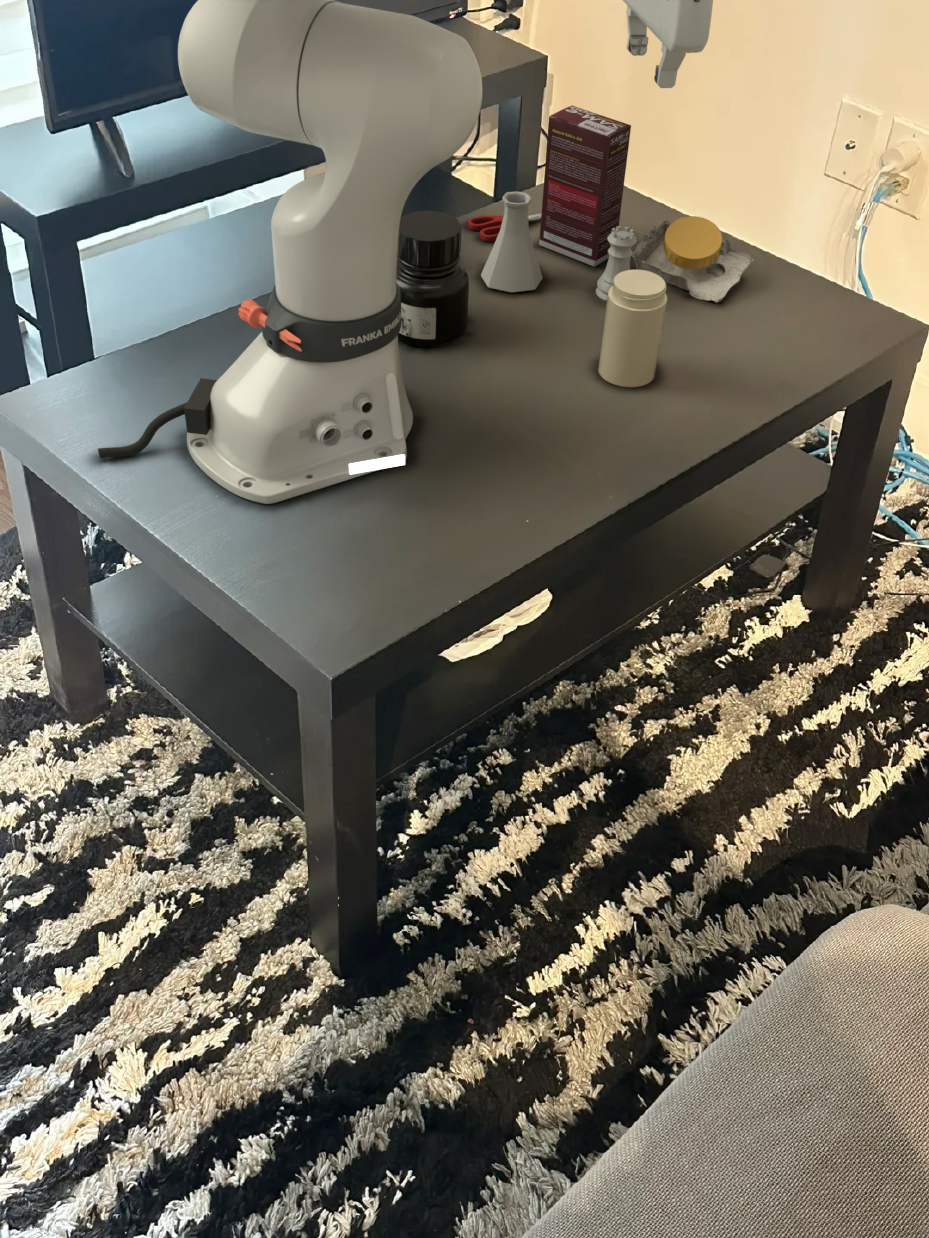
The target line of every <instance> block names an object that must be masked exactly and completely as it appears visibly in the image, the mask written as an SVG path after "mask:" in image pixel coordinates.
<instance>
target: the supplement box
mask: <svg viewBox="0 0 929 1238" xmlns="http://www.w3.org/2000/svg"><path fill="white" fill-rule="evenodd" d="M631 130H632V125H631V124H628V123H625V122H622V121H620V120H616V119H613V118H610V117H608V116H604V115H601V114H598V113H595V112H592V111H590V110H586V109H584V108H581V107H578V106H575V105H570V106H569V105H568V106H567V107H565V108H562V109H560V110H557V111H556V112H554V113H553V114H549V115H548V125H547V136H546V147H545V148H546V149H545V160H544V161H545V162H544V163H545V164H544V173H543V175H544V176H543V190H542V200H541V201H542V203H541V213H542V214H541V218H540V228H539V239H538V245H539V246H540V247H543V248H546V249H548V250H551V251H553V252H556V253H558V254H561V255H563V256H565V257H568V258H571V259H573V260H576V261H578V262H581V263H584V264H586V265H589V266H591V267H593V268H595V267H597V266H599V265H600V264H602V263H604V262H605V261H608V259H609V253H608V249H609V248H610V246H611V245H610V243H609V241H608V239H607V237H608V236H609V235H610V234H611V232H612V229H613V228H615V231H616V227H617V226H620V218H621V211H622V203H623V202H622V201H623V194H624V187H625V181H626V180H625V179H626V170H627V163H628V155H629V148H630V147H629V146H630V138H631V137H630V136H631Z"/></svg>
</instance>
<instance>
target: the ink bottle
mask: <svg viewBox="0 0 929 1238" xmlns="http://www.w3.org/2000/svg"><path fill="white" fill-rule="evenodd" d="M461 249H462V224H461V223H460V221H459V219H458V218H456V217H454V216H452V215H451V214H448V213H444V212H441V211H435V210H434V211H433V210H420V211H413V212H410V213H407V214H404V215H403V216H401V219H400V225H399V235H398V249H397V274H396V282H397V284H398V285H399V288H400V292H401V329H400V332H399V334H398V341H400V342H403V343H406V344H408V345H410V346H415V347H416V346H417V347H422V348H423V347H425V348H427V347H428V348H429V347H430V348H431V347H439V346H443V345H447V344H450V343H452V342H455V341H457V340H459V339H460V338H461V337H463V336H464V335H465V334H466V332H467V329H468V324H469V323H468V320H469V297H470V275H469V271H468V270H467V268H466V266H465V265H464V264H462V262H460V260H461Z"/></svg>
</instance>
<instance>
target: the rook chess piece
mask: <svg viewBox="0 0 929 1238" xmlns="http://www.w3.org/2000/svg"><path fill="white" fill-rule="evenodd" d="M607 239H608V241H609V243H610V245H611V246H610V248H609V249H608V253H609V258H608V259H607V263H606V267H605V269H604V271H603V273H602V274H601V276H600V277H599V279H598V280H597V281H596V282H597V283H596V286H597V287H596V288H595V294H596V295H597V298H598V299H599V300H600V301H602V302H603V303H606V304H607V297H608V291H609V289H610V288H611V287H612V286H613V282H614V278H615V276H616V275H617V274H618V273H620V272H623V271H626V270H631V269H630V268H631V257H632V254H633V252H634V250H632V247H634V245H636V243H637V238H636V236H635V230H634V229H633V228H631V229H630V227H629V226H626V225H624V228H623V229H622V226H621V225H619V226H617V227H616V231H615V228H613V229H612V232H611V234H610V235H609V236H608V237H607Z"/></svg>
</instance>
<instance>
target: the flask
mask: <svg viewBox="0 0 929 1238" xmlns="http://www.w3.org/2000/svg"><path fill="white" fill-rule="evenodd" d="M502 202H503V203H504V212H503V216H504V217H503V221H502V225H501V229H500V232H498V233H499V234H498V236H497V239H496V241H494V244H493V246H492V248H491V251H490V253H489V256H488V258H487V260H486V262H485V264H484V266H483V268H482V272H481V274H480V277H481V279H482V280H483V282H484V283H485V285H486V287H487V288H490V289H493V290H494V289H495V290H498V291H504V292H508V293H518V292H526V291H534V290H536V289H537V287H538V286H539V284H540V282H542V280H543V274H542V271H541V268H540V264H539V260H538V257H537V254H536V251H535V247H534V244H533V240H532V236H531V232H530V224H529V221H528V216H529V205H530V204H531V203H532V197H531V196H530V194H529V193H528V192H522V191H508V192H507V191H506V192H505V193H504V195H503V196H502Z"/></svg>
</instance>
